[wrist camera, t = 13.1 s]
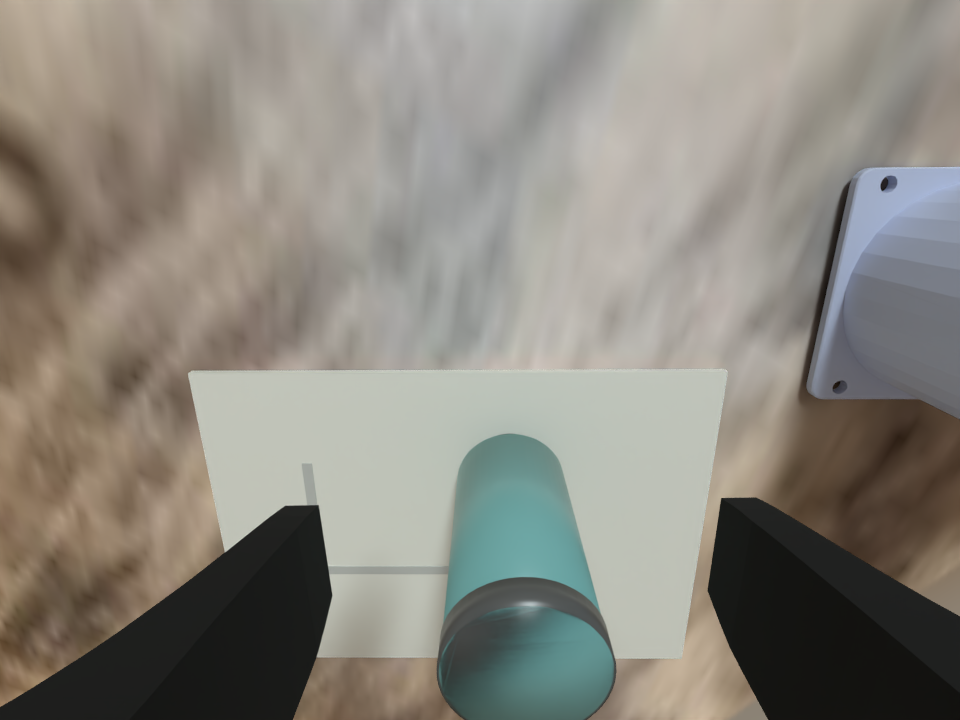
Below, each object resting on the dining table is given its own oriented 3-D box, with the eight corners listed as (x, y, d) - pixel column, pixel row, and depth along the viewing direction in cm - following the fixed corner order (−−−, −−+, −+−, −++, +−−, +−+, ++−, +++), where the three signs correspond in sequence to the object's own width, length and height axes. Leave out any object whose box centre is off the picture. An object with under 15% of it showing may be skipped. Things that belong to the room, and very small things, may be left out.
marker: (561, 418, 19) (619, 600, 11) (561, 509, 21) (613, 735, 12) (453, 423, 20) (429, 607, 11) (460, 513, 21) (443, 739, 12)
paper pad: (724, 369, 19) (728, 372, 19) (679, 652, 24) (681, 659, 23) (192, 370, 19) (187, 373, 19) (249, 651, 24) (246, 657, 24)
